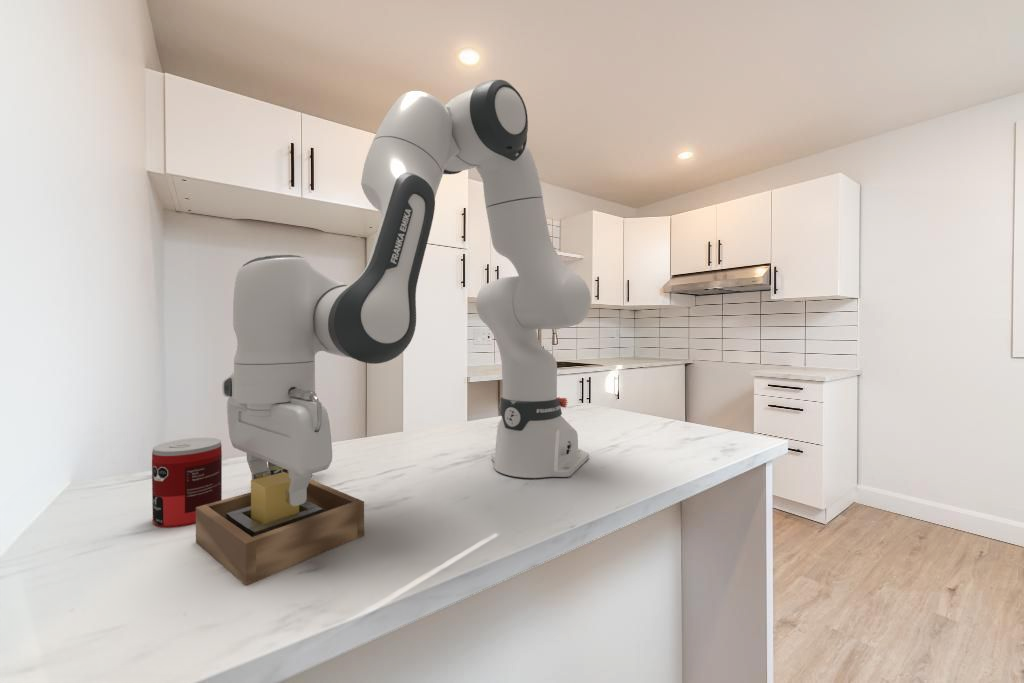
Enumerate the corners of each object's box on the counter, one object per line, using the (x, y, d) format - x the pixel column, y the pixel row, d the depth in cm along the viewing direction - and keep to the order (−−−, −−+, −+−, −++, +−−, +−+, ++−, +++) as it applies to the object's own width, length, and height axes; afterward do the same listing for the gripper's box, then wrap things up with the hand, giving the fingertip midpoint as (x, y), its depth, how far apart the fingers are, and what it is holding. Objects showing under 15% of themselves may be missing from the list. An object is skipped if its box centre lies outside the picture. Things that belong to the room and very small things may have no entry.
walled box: (306, 510, 64) (306, 477, 64) (364, 539, 55) (364, 501, 55) (195, 546, 53) (195, 507, 53) (245, 591, 44) (245, 543, 44)
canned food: (165, 513, 63) (165, 439, 62) (228, 505, 65) (228, 435, 65) (141, 536, 55) (140, 453, 55) (213, 527, 58) (212, 448, 58)
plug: (284, 532, 56) (284, 472, 55) (299, 541, 53) (299, 478, 53) (251, 544, 52) (251, 480, 52) (265, 554, 50) (265, 487, 50)
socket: (292, 522, 59) (292, 493, 58) (323, 539, 54) (323, 508, 54) (225, 545, 52) (225, 513, 52) (254, 567, 47) (253, 532, 47)
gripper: (345, 389, 49) (347, 506, 49) (267, 377, 61) (268, 471, 62) (290, 395, 44) (292, 526, 44) (216, 381, 56) (218, 484, 57)
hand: (277, 494), depth 53 cm, fingers open, 8 cm apart
